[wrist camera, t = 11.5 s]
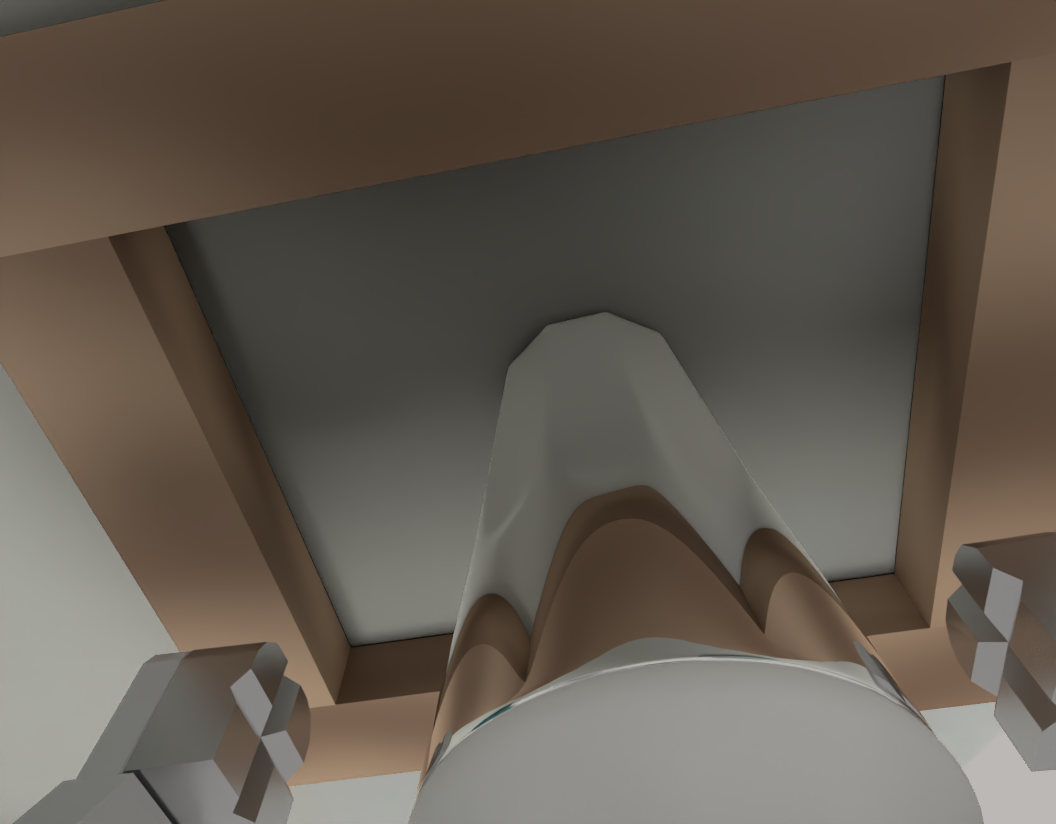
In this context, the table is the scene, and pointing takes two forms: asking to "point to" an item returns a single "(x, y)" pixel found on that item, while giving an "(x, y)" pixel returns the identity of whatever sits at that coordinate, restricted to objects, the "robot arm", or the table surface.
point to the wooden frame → (452, 143)
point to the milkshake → (657, 627)
